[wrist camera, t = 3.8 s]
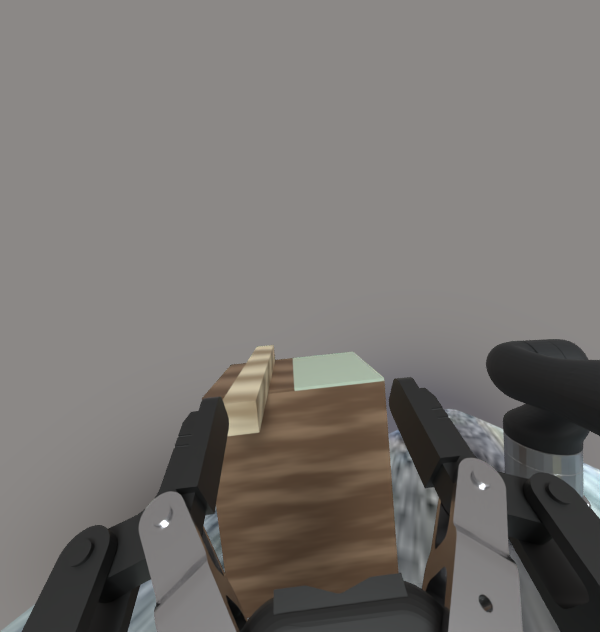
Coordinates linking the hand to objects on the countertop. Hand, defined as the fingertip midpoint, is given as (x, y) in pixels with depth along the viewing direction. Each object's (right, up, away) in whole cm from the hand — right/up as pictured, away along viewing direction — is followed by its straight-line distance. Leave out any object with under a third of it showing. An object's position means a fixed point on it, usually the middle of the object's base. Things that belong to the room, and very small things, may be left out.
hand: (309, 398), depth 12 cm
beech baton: (-6, -6, +24) cm, 25 cm away
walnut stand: (+2, -37, +31) cm, 48 cm away
